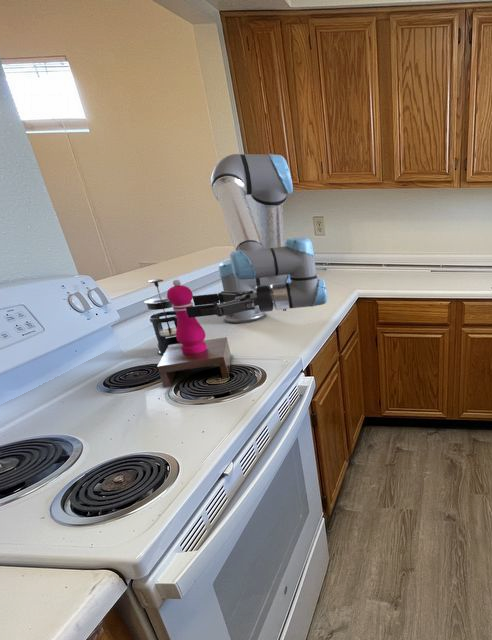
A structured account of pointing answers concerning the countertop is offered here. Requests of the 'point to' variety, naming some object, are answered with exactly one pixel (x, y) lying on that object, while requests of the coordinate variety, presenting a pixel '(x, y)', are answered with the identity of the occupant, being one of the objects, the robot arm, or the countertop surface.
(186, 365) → the shelf
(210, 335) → the countertop surface
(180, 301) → the pepper mill
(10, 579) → the countertop surface
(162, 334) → the french press
